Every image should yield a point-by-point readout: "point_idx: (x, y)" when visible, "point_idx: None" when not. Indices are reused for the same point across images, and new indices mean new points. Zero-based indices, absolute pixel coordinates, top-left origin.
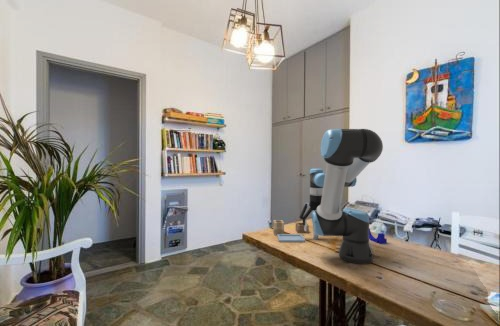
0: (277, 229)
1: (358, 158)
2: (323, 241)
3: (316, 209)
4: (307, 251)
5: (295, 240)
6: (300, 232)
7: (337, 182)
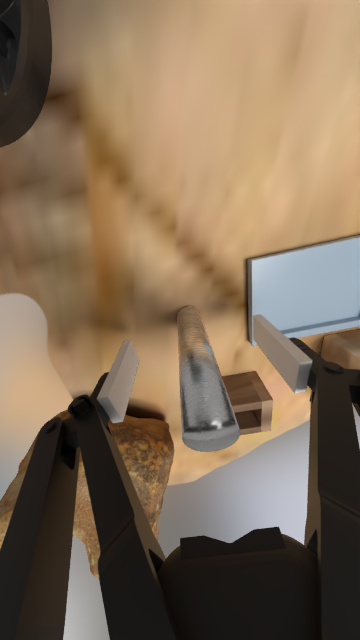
0: None
1: None
2: (155, 293)
3: (238, 567)
4: (275, 50)
5: (308, 247)
6: (245, 375)
7: None
